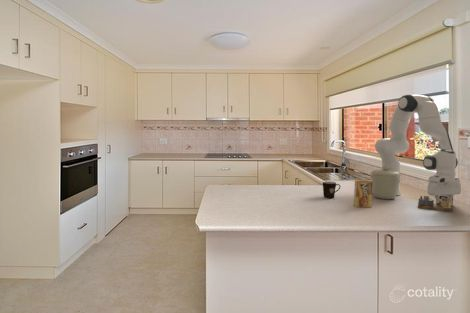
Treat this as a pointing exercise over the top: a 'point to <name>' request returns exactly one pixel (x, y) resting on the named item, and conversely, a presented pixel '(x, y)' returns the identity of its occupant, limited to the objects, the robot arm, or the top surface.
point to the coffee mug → (329, 189)
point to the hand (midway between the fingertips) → (443, 202)
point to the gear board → (434, 206)
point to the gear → (426, 201)
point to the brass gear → (445, 203)
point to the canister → (385, 183)
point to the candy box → (363, 193)
